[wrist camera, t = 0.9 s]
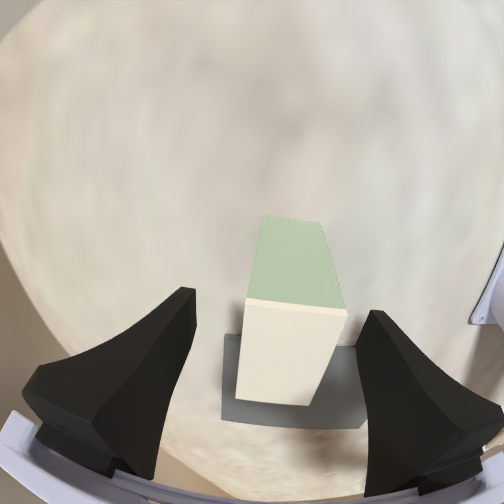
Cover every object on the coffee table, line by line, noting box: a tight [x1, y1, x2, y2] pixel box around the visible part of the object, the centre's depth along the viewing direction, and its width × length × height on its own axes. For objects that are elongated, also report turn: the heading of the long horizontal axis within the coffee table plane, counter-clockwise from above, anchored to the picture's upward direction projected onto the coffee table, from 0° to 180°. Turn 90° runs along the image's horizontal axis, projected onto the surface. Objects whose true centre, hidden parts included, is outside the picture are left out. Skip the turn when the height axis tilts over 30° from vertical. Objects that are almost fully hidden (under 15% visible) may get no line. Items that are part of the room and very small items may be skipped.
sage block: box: [235, 215, 348, 406], centre depth 12 cm, size 3×5×7 cm, turn 174°
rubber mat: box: [221, 333, 367, 429], centre depth 21 cm, size 14×12×1 cm
